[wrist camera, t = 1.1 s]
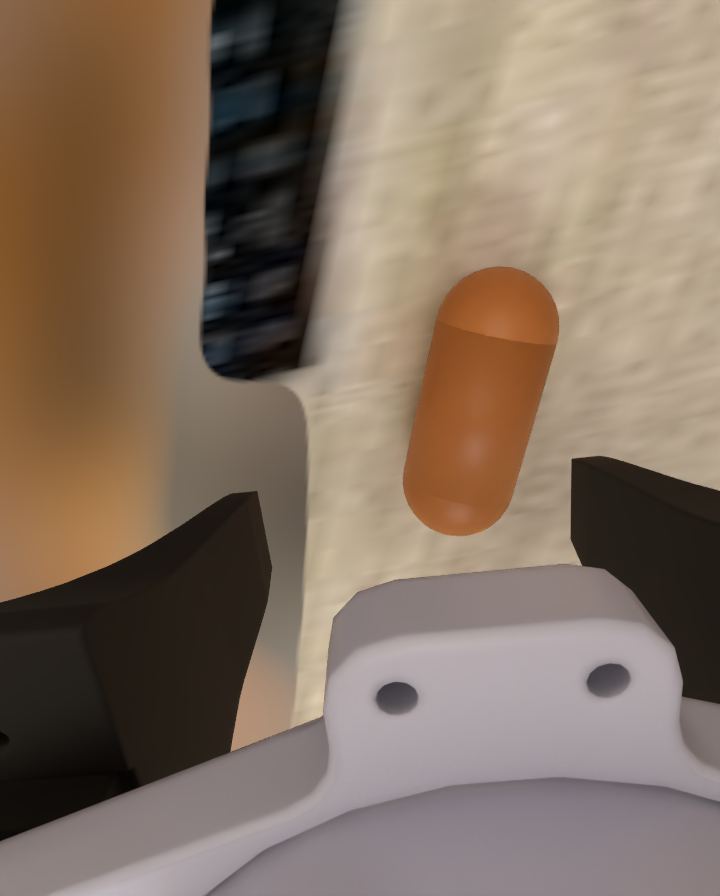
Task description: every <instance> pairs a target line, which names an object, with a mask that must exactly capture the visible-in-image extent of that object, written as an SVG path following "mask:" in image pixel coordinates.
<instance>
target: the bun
mask: <svg viewBox="0 0 720 896" xmlns="http://www.w3.org/2000/svg"><path fill="white" fill-rule="evenodd" d="M558 335H559V316H558V312H557V308H556V305H555V303H554V300H553V298H552V296H551V294H550V293H549V292H548V290H547V289H546V288H545V286H544V285H543V284H542V283H540V282H539V281H538V280H537V279H536V278H535V277H533V276H531V275H529V274H528V273H526V272H524V271H521V270H517V269H514V268H509V267H493V268H486V269H483V270H480V271H477V272H474V273H472V274H470V275H469V276H467V277H465V278H463V279H462V280H461V281H460V282H459V283H457V284H456V285H455V286H454V287H453V288H452V289H451V291H450V292H449V293H448V294H447V295H446V297H445V299H444V301H443V303H442V304H441V306H440V309H439V312H438V315H437V319H436V323H435V328H434V333H433V337H432V342H431V347H430V351H429V356H428V361H427V365H426V370H425V374H424V379H423V384H422V388H421V393H420V398H419V402H418V407H417V412H416V416H415V421H414V425H413V430H412V435H411V439H410V444H409V449H408V453H407V458H406V463H405V467H404V475H403V486H404V493H405V496H406V499H407V502H408V504H409V506H410V508H411V510H412V511H413V513H414V514H415V515H416V517H417V518H418V519H419V520H420V521H421V522H422V523H424V524H425V525H426V526H428V527H429V528H431V529H433V530H435V531H437V532H440V533H443V534H446V535H453V536H467V535H471V534H475V533H479V532H481V531H483V530H485V529H487V528H489V527H490V526H492V525H493V524H494V523H495V522H496V521H497V520H499V519H500V517H501V516H502V515H503V513H504V512H505V510H506V509H507V507H508V505H509V503H510V501H511V498H512V495H513V492H514V488H515V485H516V481H517V478H518V474H519V471H520V468H521V464H522V461H523V457H524V454H525V450H526V447H527V444H528V440H529V437H530V433H531V430H532V426H533V423H534V420H535V416H536V413H537V409H538V406H539V402H540V399H541V396H542V392H543V389H544V385H545V382H546V378H547V375H548V372H549V368H550V365H551V361H552V358H553V355H554V351H555V348H556V344H557V340H558Z"/></svg>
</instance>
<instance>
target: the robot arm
mask: <svg viewBox="0 0 720 896" xmlns="http://www.w3.org/2000/svg"><path fill="white" fill-rule="evenodd" d="M571 541H572V543H573V546H574V548H575V550H576V553H577V555H578V557H579V559H580V561H581V563H582V566H578V565H570V564H558V565H547V566H537V567H526V568H515V569H505V570H494V571H483V572H473V573H462V574H452V575H441V576H430V577H420V578H409V579H399V580H393V581H390V582H387V583H384V584H381V585H378V586H375V587H372V588H369V589H366V590H363V591H360V592H357V593H356V594H355V595H354V596H353V598H352V599H351V600H350V601H349V602H348V603H347V604H346V605H345V606H344V607H343V608H342V609H341V610H340V611H339V613H338V614H337V615H336V616H335V617H334V618H333V624H332V630H331V636H330V643H329V649H328V660H327V672H326V683H325V695H324V707H323V716H322V717H320V718H317V719H315V720H312V721H309V722H307V723H304V724H302V725H299V726H296V727H294V728H291V729H289V730H286V731H284V732H281V733H278V734H276V735H273V736H271V737H268V738H266V739H263V740H260V741H258V742H255V743H253V744H250V745H248V746H245V747H242V748H240V749H237V750H235V751H232V752H230V751H231V744H232V738H233V733H234V727H235V721H236V716H237V710H238V704H239V698H240V695H241V690H242V687H243V683H244V679H245V676H246V673H247V669H248V666H249V663H250V659H251V656H252V652H253V649H254V646H255V642H256V639H257V636H258V633H259V630H260V626H261V623H262V619H263V616H264V613H265V609H266V605H267V601H268V595H269V588H270V580H271V572H272V565H271V560H270V554H269V550H268V544H267V539H266V534H265V529H264V524H263V518H262V513H261V508H260V503H259V498H258V492H257V491H254V492H243V493H233V494H230V495H227V496H225V497H223V498H222V499H220V500H219V501H217V502H215V503H214V504H212V505H211V506H209V507H208V508H206V509H205V510H203V511H202V512H200V513H199V514H197V515H196V516H195V517H193V518H192V519H190V520H189V521H187V522H186V523H184V524H183V525H181V526H180V527H178V528H176V529H175V530H173V531H171V532H170V533H168V534H167V535H165V536H163V537H162V538H160V539H158V540H157V541H155V542H154V543H152V544H150V545H149V546H147V547H145V548H143V549H141V550H140V551H138V552H136V553H134V554H132V555H130V556H128V557H126V558H124V559H122V560H120V561H118V562H116V563H114V564H111V565H109V566H107V567H105V568H102V569H100V570H97V571H95V572H92V573H90V574H87V575H85V576H82V577H80V578H77V579H75V580H72V581H70V582H67V583H64V584H61V585H58V586H55V587H52V588H49V589H46V590H43V591H40V592H36V593H33V594H30V595H26V596H23V597H20V598H16V599H12V600H8V601H5V602H1V603H0V896H720V491H718V490H714V489H711V488H707V487H703V486H700V485H696V484H693V483H689V482H686V481H683V480H679V479H676V478H673V477H670V476H667V475H664V474H660V473H657V472H654V471H651V470H648V469H645V468H642V467H639V466H636V465H633V464H630V463H627V462H624V461H620V460H617V459H613V458H609V457H603V456H595V457H585V458H575V459H572V474H571Z"/></svg>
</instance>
